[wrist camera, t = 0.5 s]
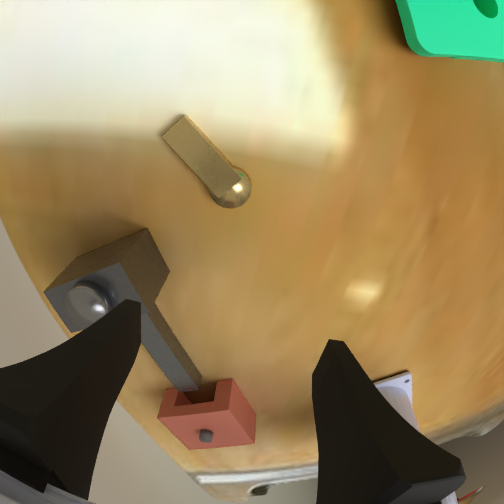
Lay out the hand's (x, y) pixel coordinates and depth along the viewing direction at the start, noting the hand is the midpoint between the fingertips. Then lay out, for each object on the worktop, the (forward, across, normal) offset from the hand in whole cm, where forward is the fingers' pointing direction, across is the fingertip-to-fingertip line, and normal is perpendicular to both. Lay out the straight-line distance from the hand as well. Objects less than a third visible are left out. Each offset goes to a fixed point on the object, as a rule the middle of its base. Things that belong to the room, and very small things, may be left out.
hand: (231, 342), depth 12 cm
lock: (+10, 0, +18) cm, 21 cm away
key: (+10, +4, -4) cm, 12 cm away
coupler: (+10, +6, +9) cm, 15 cm away
